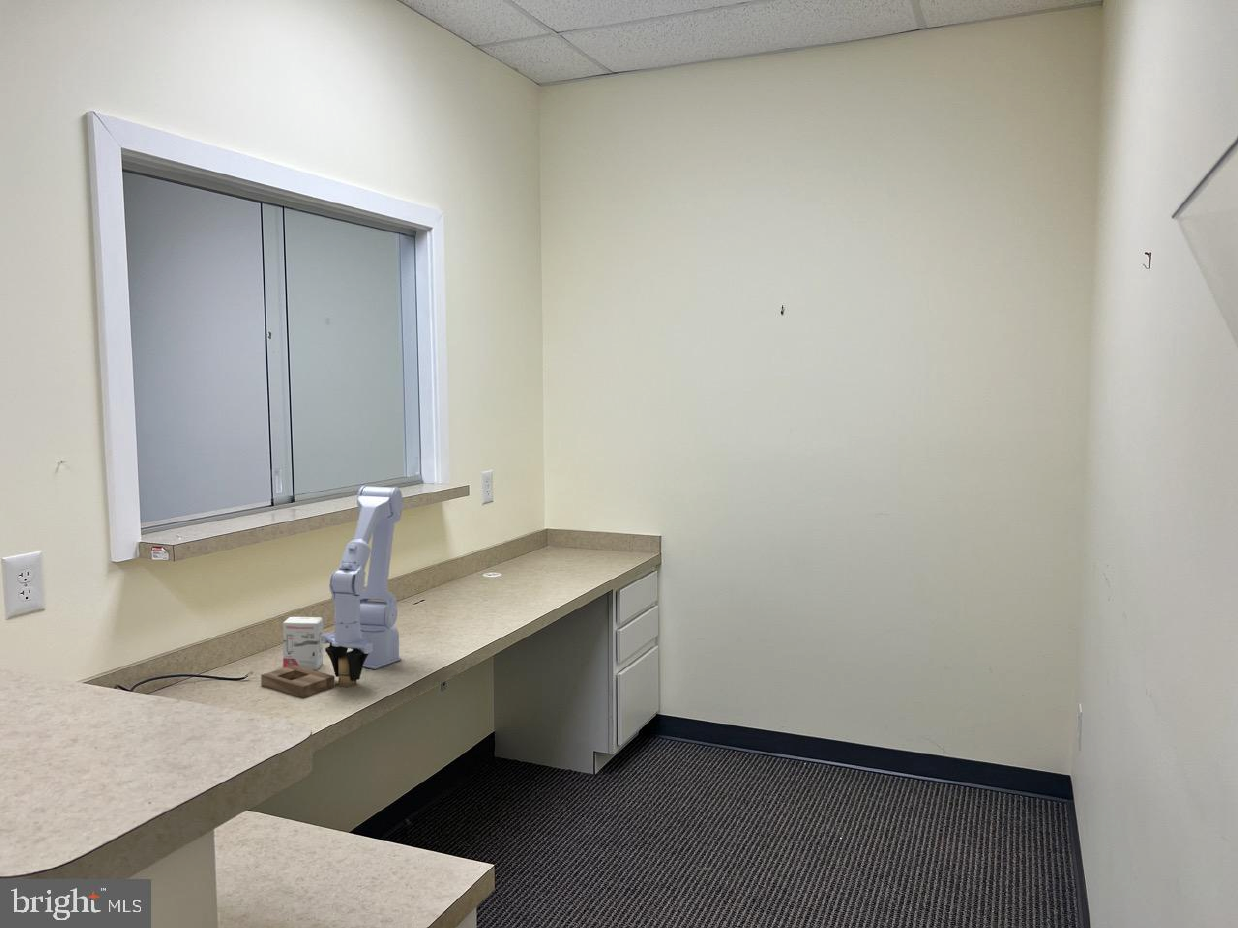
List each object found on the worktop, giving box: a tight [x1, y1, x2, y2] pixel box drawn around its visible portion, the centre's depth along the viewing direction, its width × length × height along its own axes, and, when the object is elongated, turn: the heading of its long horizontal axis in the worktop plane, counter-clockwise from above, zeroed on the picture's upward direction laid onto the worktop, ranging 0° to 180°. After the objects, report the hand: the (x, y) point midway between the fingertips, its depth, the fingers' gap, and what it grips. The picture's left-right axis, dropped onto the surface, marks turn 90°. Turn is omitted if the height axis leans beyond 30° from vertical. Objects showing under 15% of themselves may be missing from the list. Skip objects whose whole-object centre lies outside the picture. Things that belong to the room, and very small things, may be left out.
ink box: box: [282, 616, 324, 671], centre depth 225 cm, size 9×5×12 cm, turn 91°
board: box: [260, 665, 336, 698], centre depth 212 cm, size 9×14×2 cm, turn 59°
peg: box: [338, 656, 357, 688], centre depth 214 cm, size 4×4×6 cm
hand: (347, 677), depth 214 cm, fingers open, 4 cm apart
